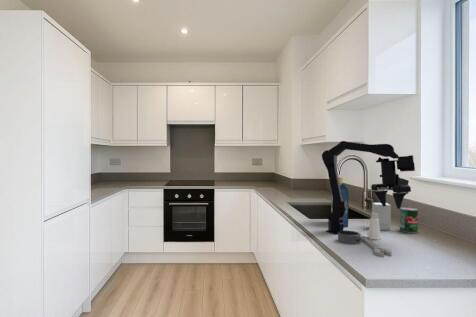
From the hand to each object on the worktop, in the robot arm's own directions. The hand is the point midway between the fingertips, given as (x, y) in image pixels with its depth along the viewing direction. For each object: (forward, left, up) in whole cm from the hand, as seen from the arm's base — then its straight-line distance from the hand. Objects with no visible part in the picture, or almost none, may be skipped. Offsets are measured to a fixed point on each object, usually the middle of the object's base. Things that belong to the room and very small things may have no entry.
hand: (391, 207), depth 137 cm
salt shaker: (-5, -5, -14) cm, 16 cm away
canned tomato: (-5, +21, -14) cm, 26 cm away
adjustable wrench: (+4, -17, -15) cm, 23 cm away
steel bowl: (-7, -19, -14) cm, 25 cm away
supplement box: (-15, +14, -14) cm, 25 cm away
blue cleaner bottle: (-32, +3, -14) cm, 35 cm away
